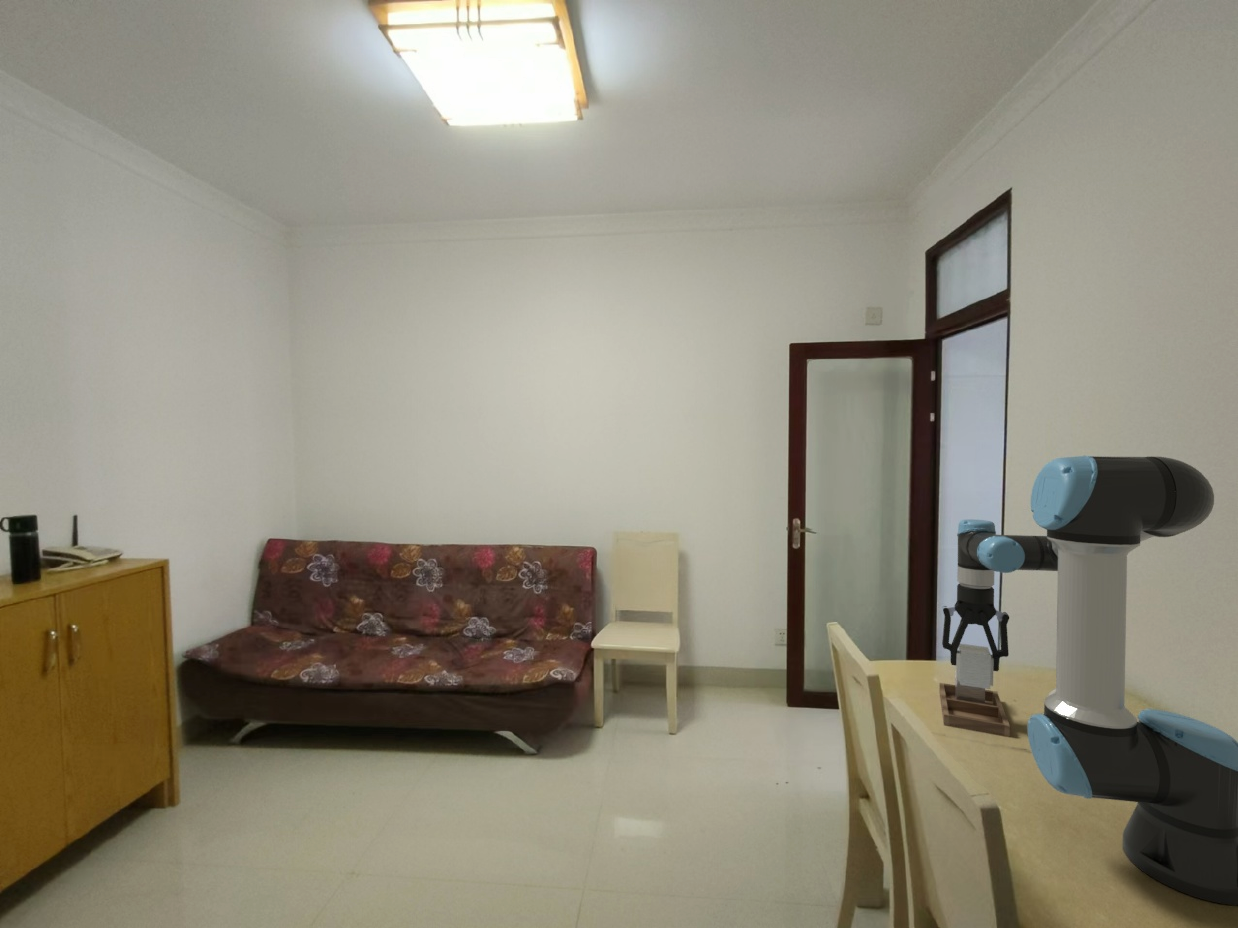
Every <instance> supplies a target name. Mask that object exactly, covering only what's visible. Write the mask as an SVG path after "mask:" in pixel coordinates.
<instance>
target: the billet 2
mask: <svg viewBox="0 0 1238 928" xmlns="http://www.w3.org/2000/svg"><path fill="white" fill-rule="evenodd" d="M954 668H955V669H954V670H955V672H954V675H956V667H954ZM954 679H955V682H954V683H955V684H954V685H955V699H957V700H964V701H970V702H976V703H982V704H985V690H986V689H985V688H978V687H972V686H966V685H960V681H957V680H956V677H955V678H954Z"/></svg>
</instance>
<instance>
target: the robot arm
mask: <svg viewBox="0 0 1238 928" xmlns="http://www.w3.org/2000/svg"><path fill="white" fill-rule="evenodd" d="M1030 494H1031V495H1030V510H1031V512H1032V513H1033V514H1032V518H1033V520H1034V522H1035V523H1036V525H1038V527H1039V528H1042V529H1044V530H1046V535H1022V534H1021V535H1017V534H1015V535H1014V534H1013V535H1012V534H997V531H996V525H995V523H994V522H993V521H991V520H986V519H974V518H973V519H972V518H971V519H962V520H960V521H959V522H958V526H957V527H958V529H957V533H956V535H957V572H956V573H957V575H956V578H957V579H956V581H957V582H958V584H957V585H956V602H955V603H954V605H953V606H952V605H951V606H947V605H944V606H942V612H943V615H944V619H943V620H944V622H943V628H942V629H943V632H942V641H941V642H942V643H941V644H942V647H943V649H945V650H949V652H950V665H951V666H955V668H956V675H955V674H954V675H955V677H956V680H957V681H960V651H959V645H960V644H961V642H962V640H963V638H964V637H963V636H964V634H965V632H966V631H967V630H966V629H967V628H968V627H969V625H978V626H982V627H983V631H984V633H985V636H986V640H987V642H988V645H989V648H990V650H991V678H990V687H994V672H999V670H1000V658H1002V657H1005V658H1007V657H1009V641H1008V639H1009V638H1008V637H1009V636H1008V622H1009V620H1010V615H1009V614H1008V612H1006V611H1004V612H1003V611H1000V610H997V609H996V607H995V589H994V587H993V586H995V572H999V573H1002V574H1007V573H1013V572H1016V571H1040V572H1041V571H1042V572H1043V571H1045V572H1048V571H1049V572H1057V587H1056V588H1057V590H1056V591H1057V597H1056V598H1057V601H1056V602H1057V604H1056V616H1057V617H1056V657H1055V658H1056V659H1055V660H1056V664H1055V666H1056V669H1055V671H1056V673H1055V689H1056V692H1055V693H1053V694H1052V695H1050V696H1047V697H1045V698H1044V701H1043V702H1044V705H1043V706H1044V707H1043V713H1036V714H1031V716H1030V717H1029V719H1028V721H1027V737H1028V743H1029V747H1030V749H1031V750H1030V751H1031V753H1032V756H1033V759H1034V761H1035V763H1036V766H1037V768H1038V770H1039V771H1040V773H1041V775H1042V776H1043V778H1044V779H1045V780H1046V782H1047V783H1048V784H1049V785H1050V786H1051V787H1052V789H1054V790H1056V791H1058V792H1059V793H1061V794H1065V795H1069V796H1070V795H1071V796H1078V797H1083V798H1084V799H1088V800H1089V799H1092V798H1093V799H1102V800H1103V799H1104V800H1111V801H1112V800H1114V801H1123V802H1133V803H1137V804H1136V806H1135V808H1134V810H1133V812H1132V814H1131V815H1130V817H1129V820H1128V821H1127V823H1126V825H1125V827H1124V829H1123V832H1122V851H1123V853H1124V854H1125V856H1126V857H1127V859H1128V860H1129V861H1130V862H1131V863H1132V864H1133V865H1134V866H1136V867H1137V868H1138V869H1139V870H1141V871H1142V872H1143V873H1145V874H1146V875H1148V876H1150V877H1151V878H1152V879H1154V880H1156V881H1157V882H1160V883H1161V884H1163V885H1166V886H1167V887H1169V888H1172V889H1174V890H1176V891H1179V892H1180V893H1183V894H1186V895H1189V896H1192V897H1194V898H1197V899H1201V900H1204V901H1206V902H1207V901H1208V902H1212V903H1217V904H1223V905H1232V906H1238V741H1237V740H1236V739H1235V738H1234V737H1233V736H1231V735H1230V734H1229V733H1227V732H1225V731H1223V730H1221V729H1219V728H1217V727H1216V726H1213V725H1211V724H1208V723H1206V722H1203V721H1201V720H1198V719H1195V718H1194V717H1193V718H1192V717H1190V716H1186V715H1182V714H1180V713H1176V712H1171V711H1166V710H1163V709H1162V710H1161V709H1156V708H1145V709H1143V710H1141V711H1139V713H1138V715H1137V717H1136V716H1135V715H1134V713H1132V712H1131V711H1130V710H1129V709H1128V708H1127V707H1126V706H1125V700H1126V699H1125V694H1126V692H1125V691H1126V690H1125V689H1126V688H1125V687H1126V645H1127V644H1126V643H1127V640H1126V638H1127V637H1126V635H1127V634H1126V633H1127V630H1126V629H1127V578H1128V577H1127V576H1128V575H1127V573H1128V554H1129V553H1130V552H1132V551H1134V550H1135V549H1137V548H1138V547H1140V546H1141V542H1143V541H1146V540H1148V539H1151V538H1153V537H1157V538H1169V537H1175V536H1176V535H1180V534H1183V533H1185V532H1187V531H1190V530H1192V529H1194V528H1196V527H1198V526H1199V525H1201V524H1202V523H1203V522H1204V521H1205V520H1206V519H1207V518H1208V517H1209V516H1210V515H1211V513H1212V511H1213V508H1214V504H1215V493H1214V489H1213V487H1212V485H1211V483H1210V481H1209V479H1207V477H1205V476H1204V474H1203V473H1202V472H1201V471H1199V470H1198V469H1197V468H1196V467H1194V466H1192V465H1191V464H1188V463H1187V462H1184V461H1181V460H1178V459H1174V458H1172V457H1171V458H1170V457H1165V456H1090V455H1089V456H1088V455H1082V456H1079V455H1078V456H1068V457H1058V458H1054V459H1053V460H1051V461H1049V462H1047V463H1046V464H1045V465H1043V467H1042V468H1041V470H1040V471H1039V472H1038V473H1037V476H1036V478H1035V479H1034V482H1033V485H1032V488H1031V493H1030ZM954 612H956V613H957V615H958V616H959V617H960V618H961V619H960V622H959V625H958V627H957V630H956V632H955V634H954V637H953V640H952V642H951V643H950V635H951V634H950V633H951V624H952V623H951V622H952V617H953V616H954ZM994 617H996V620H997V621H998V622H999V625H998V626H999V639H1000V640H999V642H1000V643H999V644H1000V649H998V648H997V645H996V642H995V639H994V636H993V633H992V629H991V627H990V625H989V622H990V621H991V620H992V619H993V618H994Z"/></svg>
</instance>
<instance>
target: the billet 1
mask: <svg viewBox="0 0 1238 928" xmlns="http://www.w3.org/2000/svg"><path fill="white" fill-rule="evenodd" d="M958 650H959V651H960V685H966V686H972V687H978V688H985V690H991V686H990V678H991V655H992V653H991V652H990V650H989V646H982V645H981V646H980V645H975V644H974V645H973V644H966V643H960V645H959V647H958Z"/></svg>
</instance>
